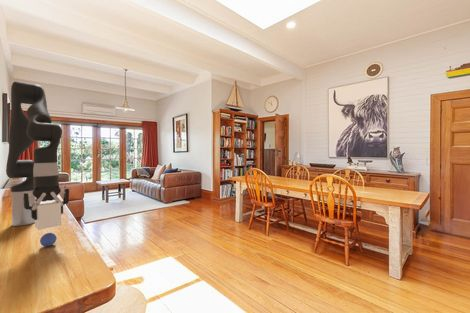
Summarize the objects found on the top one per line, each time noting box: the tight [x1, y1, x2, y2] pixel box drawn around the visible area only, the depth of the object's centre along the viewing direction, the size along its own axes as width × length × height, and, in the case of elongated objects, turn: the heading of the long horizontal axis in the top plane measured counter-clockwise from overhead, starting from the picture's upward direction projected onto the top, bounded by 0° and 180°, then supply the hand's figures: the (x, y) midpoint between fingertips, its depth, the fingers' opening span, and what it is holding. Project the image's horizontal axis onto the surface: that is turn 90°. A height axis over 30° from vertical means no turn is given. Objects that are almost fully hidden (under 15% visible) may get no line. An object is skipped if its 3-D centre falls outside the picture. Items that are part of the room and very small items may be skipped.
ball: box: [39, 232, 58, 248], centre depth 89 cm, size 5×5×5 cm
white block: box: [34, 200, 62, 231], centre depth 89 cm, size 7×7×9 cm
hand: (47, 217), depth 89 cm, fingers closed on white block, 7 cm apart
